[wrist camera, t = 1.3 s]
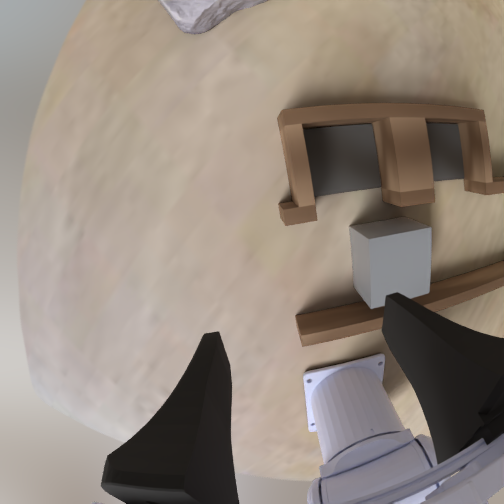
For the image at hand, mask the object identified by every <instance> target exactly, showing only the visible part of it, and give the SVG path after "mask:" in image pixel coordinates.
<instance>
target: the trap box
mask: <svg viewBox="0 0 504 504" xmlns="http://www.w3.org/2000/svg"><path fill="white" fill-rule="evenodd" d="M277 119H278V124H279V129H280V135H281V140H282V145H283V151H284V156H285V162H286V167H287V173H288V179H289V185H290V191H291V197H292V201H291V202H285V203H279V204H278V205H279V211H280V217H281V219H282V221H283V222H284V224H285V226H288V225H294V224H300V223H305V222H311V221H317V213H316V206H315V199H314V197H316V196H322V195H329V194H336V193H343V192H350V191H357V190H364V189H372V188H379V187H381V189H382V199H383V201H384V202H387V203H390V204H393V205H397V206H400V207H405V206H412V205H419V204H425V203H432V202H435V194H434V181H442V180H453V179H464V187H465V191H470V192H474V193H479V194H484V195H491V194H499V193H504V176H503V177H492V166H491V155H490V146H489V139H488V132H487V126H486V120H485V114H484V110H480V109H473V108H465V107H456V106H445V105H432V104H413V103H358V104H338V105H324V106H313V107H303V108H294V109H286V110H282V111H281V113H280V114H279V116H278V118H277ZM426 122H438V123H426ZM361 123H372V124H362V125H347V126H335V127H324V128H314V127H323V126H334V125H346V124H361ZM441 123H457V124H441ZM305 128H314V129H306V130H303V129H305ZM374 138H375V139H374ZM375 144H376V145H375ZM377 157H378V158H377ZM378 164H379V165H378ZM502 286H504V260H503V261H500V262H497V263H494V264H492V265H489V266H486V267H483V268H480V269H477V270H474V271H471V272H468V273H465V274H461V275H458V276H455V277H452V278H448V279H445V280H442V281H438V282H435V283H432V284H430V290H429V293H428V294H424V295H421V296H418V297H414V298H411V299H412V300H413V301H415V302H417V303H419V304H420V305H422V306H424V307H426V308H427V309H429V310H431V311H433V312H437V311H440V310H443V309H446V308H448V307H451V306H454V305H457V304H459V303H462V302H465V301H467V300H470V299H473V298H475V297H478V296H480V295H483V294H485V293H488V292H490V291H492V290H495V289H497V288H499V287H502ZM384 307H385V306H381V307H377V308H373V309H371V308H370V307H369V306H368V305H367V303H366V302H365V301H362V302H358V303H354V304H349V305H345V306H340V307H335V308H331V309H326V310H321V311H316V312H311V313H306V314H301V315H296V316H295V317H296V324H297V329H298V332H299V336H300V340H301V343H302V347H303V346H309V345H314V344H318V343H323V342H328V341H332V340H337V339H341V338H345V337H350V336H354V335H358V334H362V333H366V332H370V331H374V330H377V329H381V328H382V324H383V316H384Z"/></svg>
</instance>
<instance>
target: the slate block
mask: <svg viewBox="0 0 504 504" xmlns="http://www.w3.org/2000/svg"><path fill="white" fill-rule="evenodd" d="M349 231H350V242H351V254H352V268H353V286H354V288H355V289H356V291H357V292H358V293H359V294H360V296H361V297H362V298H363V299H364V301H365V302H366V303H367V305H368V306H369V307H370V308H371V309H373V308H377V307H381V306H385V298H386V295H389V294H393V293H396V292H398V293H400V294H402V295H404V296H406V297H408V298H410V299H411V298H414V297H418V296H421V295H424V294H428V293H429V290H430V276H431V247H432V229H431V227H430V226H427V225H425V224H422V223H420V222H417V221H415V220H412V219H410V218H407V217H400V218H394V219H388V220H383V221H377V222H371V223H365V224H359V225H353V226H349Z"/></svg>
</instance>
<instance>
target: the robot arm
mask: <svg viewBox="0 0 504 504" xmlns="http://www.w3.org/2000/svg"><path fill="white" fill-rule="evenodd" d="M382 333H383V335H384V337H385V340H386V342H387V344H388V346H389V348H390V350H391V352H392V353H393V355H394V357H395V358H396V360H397V362H398V363H399V365H400V367H401V368H402V370H403V371H404V373H405V375H406V376H407V378H408V380H409V381H410V383H411V385H412V387H413V389H414V391H415V393H416V395H417V397H418V400H419V402H420V404H421V407H422V410H423V412H424V415H425V418H426V421H427V424H428V427H429V430H430V434H431V437H432V438H431V437H429V436H425V435H423V434H420V435H418V436H416V437H415V438H414V436H413V434H412V433H411V431H410V429H406V430H405V428H404V426H403V424H402V422H401V420H400V418H399V416H398V414H397V412H396V410H395V408H394V406H393V404H392V402H391V400H390V399H389V397H388V395H387V393H386V391H385V389H384V387H383V385H382V382H383V374H384V365H385V356H384V354H382V353H381V354H377V355H373V356H370V357H366V358H362V359H358V360H355V361H351V362H347V363H342V364H338V365H334V366H329V367H325V368H320V369H316V370H311V371H307V372H305V373H304V374H303V380H304V389H305V398H306V408H307V418H308V428H309V431H310V432H315V431H317V434H318V438H319V443H320V447H321V452H322V456H323V461H324V465H321V466H320V467H319V469H320V474H321V477H319V478H316V479H314V480H313V481H312V484H311V486H310V487H309V489H308V495H307V500H308V504H488V501H487V500H488V499H489V498H490V497H492V496H493V495H494V494H495V493H497V492H498V491H499V490H500V489H501V488H503V487H504V338H499V337H495V336H491V335H487V334H484V333H480V332H477V331H474V330H472V329H469V328H467V327H464V326H461V325H459V324H457V323H455V322H453V321H451V320H448V319H446V318H444V317H442V316H440V315H438V314H437V313H435V312H433V311H431V310H429V309H427V308H426V307H424V306H422V305H420V304H419V303H417V302H415V301H413V300H412V299H410V298H408V297H406V296H404V295H402V294H400V293H398V292H396V293H393V294H389V295H386V298H385V307H384V316H383V324H382ZM379 362H380V363H379ZM308 379H311V380H308ZM231 404H232V380H231V369H230V363H229V360H228V357H227V354H226V351H225V348H224V345H223V342H222V339H221V336H220V333H219V332H212V333H206V334H204V335H203V337H202V339H201V341H200V343H199V345H198V348H197V350H196V352H195V354H194V356H193V358H192V360H191V362H190V363H189V365H188V367H187V369H186V371H185V373H184V374H183V376H182V378H181V379H180V381H179V383H178V384H177V386H176V387H175V389H174V390H173V392H172V393H171V395H170V396H169V398H168V399H167V400H166V402H165V403H164V404H163V406H162V407H161V408H160V409H159V410H158V411H157V413H156V414H155V415H154V416H153V417H152V418H151V419H150V421H149V422H148V423H147V424H146V425H145V426H144V427H143V428H142V429H140V430H139V431H138V432H137V433H136V434H135V435H134V436H133V437H132V438H131V439H129V440H128V441H127V442H126V443H124V444H123V445H122V446H120V447H119V448H118V449H116V450H115V451H113V452H112V453H111V454H109V455H108V456H107V460H106V463H105V467H104V472H103V477H102V482H101V487H102V488H103V489H104V490H105V491H106V492H108V493H109V494H110V495H112V496H114V497H116V498H118V499H119V500H121V501H123V502H125V503H126V504H239V500H238V493H237V486H236V479H235V472H234V464H233V455H232V444H231ZM459 470H460V471H459ZM458 471H459V472H458ZM456 472H458V473H457V474H456V475H454V476H452V477H451V475H453V474H454V473H456ZM92 504H102V503H98V502H92Z"/></svg>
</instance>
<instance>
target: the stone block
mask: <svg viewBox="0 0 504 504" xmlns="http://www.w3.org/2000/svg"><path fill="white" fill-rule="evenodd" d="M158 1H159V2H160V3H161V5H162V6H163V7H164V8H165V10H166V11H167V12H168V14H169V15H170V16H171V18H172V19H173V20H174V21H175V23H176V24H177V26H178V27H179V29H180V30H182V31H183V32H185V33H191V34H200V33H203V32H206V31H208V30H209V29H211V28H213V27H214V26H215V25H218V24H219V23H220V22H221V21H222V20H224V19H226V18H227V17H228V16H230V14H231V13H233V12H235V11H237V10H241V9H244V8H249V7H253V6H255V5H258V4H260V3H263V2H265V1H267V0H158Z"/></svg>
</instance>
